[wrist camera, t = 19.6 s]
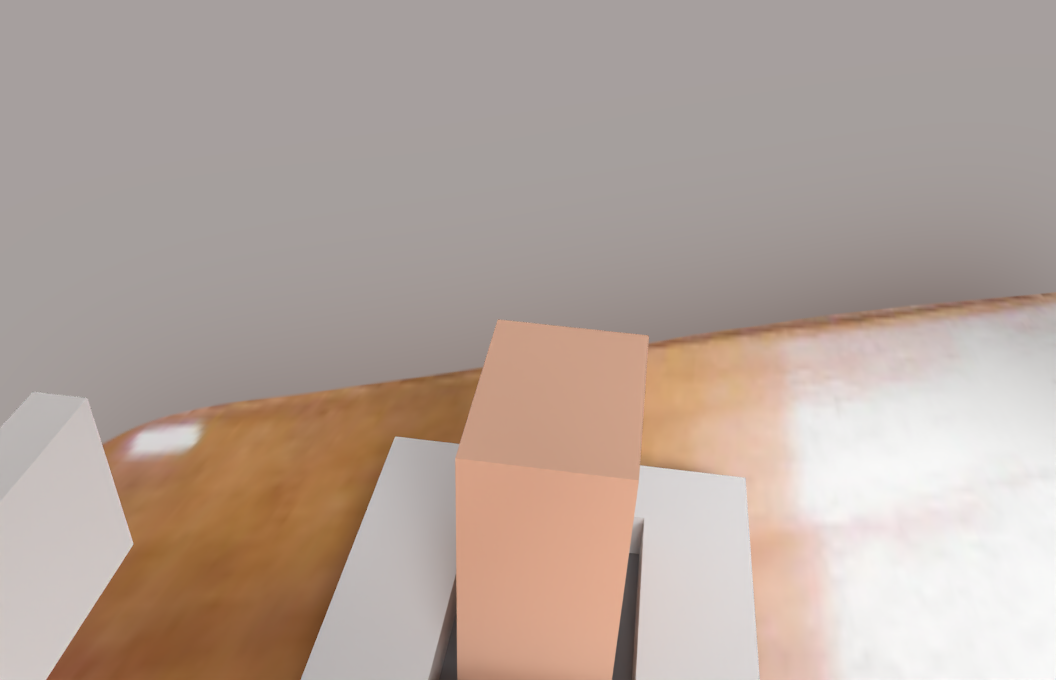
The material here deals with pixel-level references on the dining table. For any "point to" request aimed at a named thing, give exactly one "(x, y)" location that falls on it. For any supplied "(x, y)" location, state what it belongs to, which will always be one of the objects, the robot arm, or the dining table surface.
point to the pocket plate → (649, 594)
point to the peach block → (547, 502)
